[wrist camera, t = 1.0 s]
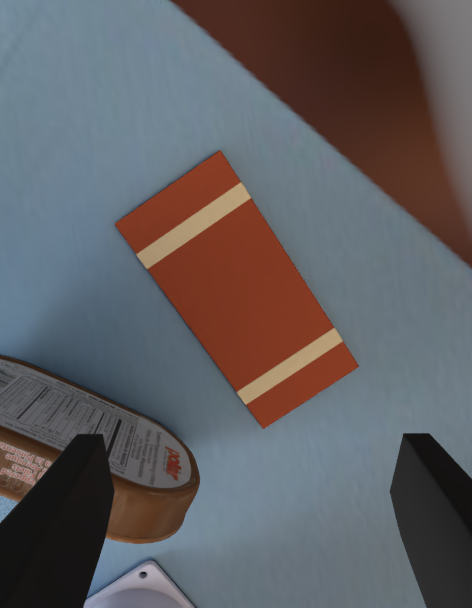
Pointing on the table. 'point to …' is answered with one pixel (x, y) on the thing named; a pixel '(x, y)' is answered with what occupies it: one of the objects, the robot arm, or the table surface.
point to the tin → (118, 441)
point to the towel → (237, 290)
